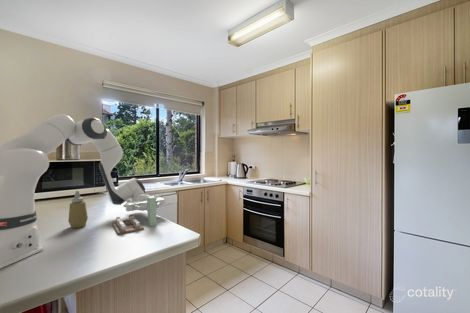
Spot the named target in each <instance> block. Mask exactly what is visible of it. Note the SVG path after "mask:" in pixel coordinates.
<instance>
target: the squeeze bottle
mask: <svg viewBox="0 0 470 313" xmlns="http://www.w3.org/2000/svg"><path fill="white" fill-rule="evenodd" d="M88 219H89V216H88V211H87V204H86V202H85V200H84V197H82V196H81V194H80V191H79V190H76V191H75V193H74V197H73V198H71V203H69V210H68V220H67V222H68V223H69V226H70V228H71V229H77V228H78V229H79V228H83V227H84V226H86V224H87V221H88Z"/></svg>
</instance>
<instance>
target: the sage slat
mask: <svg viewBox="0 0 470 313" xmlns="http://www.w3.org/2000/svg"><path fill="white" fill-rule="evenodd" d="M146 215H147V225H148V226H149V227H154V226H157V223H158V222H157V207H156V197H154V196H149V197H147V214H146Z"/></svg>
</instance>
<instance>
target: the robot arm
mask: <svg viewBox="0 0 470 313" xmlns="http://www.w3.org/2000/svg"><path fill="white" fill-rule="evenodd" d="M64 142H65V143H67V144H68V145H71V146H81V145H84V144H88V143H92V144H93V145H94V146H95V148H96V150H97V152H98V153H99V156H100V162H99V163H98V167H99V172H100V174H101V177H102V180H103V183H104V186H105V188H106V191H107V195H108V199H109V202H110V203H112V204H113V205H117V206H121V205H122V204H123V208H125V211H127V212H133V211H146V210H147V197H149V196H154V197H156V208H160V207H164V206H166V199H165V198H164V197H161V196H159V194H145V193H146V188H145V185H144V184H143V183H142V181H141V180H140V179H138V178H136V177H132V178H131V179H128V180H127V181H124V182H123V183H121V184H119V185H118V186H115V184H114V182H113V179H112V175H111V173H112V170H113V169H114V167H116V165H118V163H120V161H121V160H122V158H123V155H124V151H123V148H122V147H121V145H120V143H119V141H118V140H117V138H116V136H115V135H114V134H113V133H112V132H111V130H109V129H108V128H107V127H106V125H105V123H103V121H101V120H100V119H99V118H96V117H88V118H85V119H82V120H80V121H74V118H71V117H70V116H69V115H67V114H63V113H61V114H60V113H59V114H56V115H53V116H51V117H49V118H47V119H45V120H43V121H42V122H40V123H39V124H37V125H35V126H34V127H33V128H31V129H30V130H28V131H27V132H24V133H23V134H21V135H20V136H18V137H15V138H13V139H11V140H9V141H6V142H5V143H2V144H0V179H2V181H1V184H0V269H3V268H6V267H7V266H9V265H12V264H14V263H16V262H19V261H22V260H23V259H26V258H28V257H31V256H33V255H35V254H37V253H40V252H43V250H44V247H43V246H42V243H41V239H40V235H39V229H38V227H37V222H36V221H37V216H38V215H37V210H35V208H36V207H35V191H36V188H37V184H38V182H39V180H40V178H41V177H42V175H43V174H44V173H45V172H47V170H48V168H49V167H50V159H49V157H48V155H50V154H52V152H54V151H55V150H56V149H57V148H58V147H60V146H61V145H62V144H63V143H64ZM128 200H129V201H128ZM124 203H125V204H124Z"/></svg>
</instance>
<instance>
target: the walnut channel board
mask: <svg viewBox="0 0 470 313" xmlns="http://www.w3.org/2000/svg"><path fill="white" fill-rule="evenodd" d="M111 224H112V226H113V228H114V230H115V232H116V234H117V236H120V235H124V234H130V233H134V232H138V231H143V230H145V227H144V226H143V225H142V223H140V221H139V220H138V219H137V218H136V217H135V216H134V215H133V214H129V215H128V219H125V220H122V219H121V217H120V216H117V217H115V221H114V222H112V223H111Z"/></svg>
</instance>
